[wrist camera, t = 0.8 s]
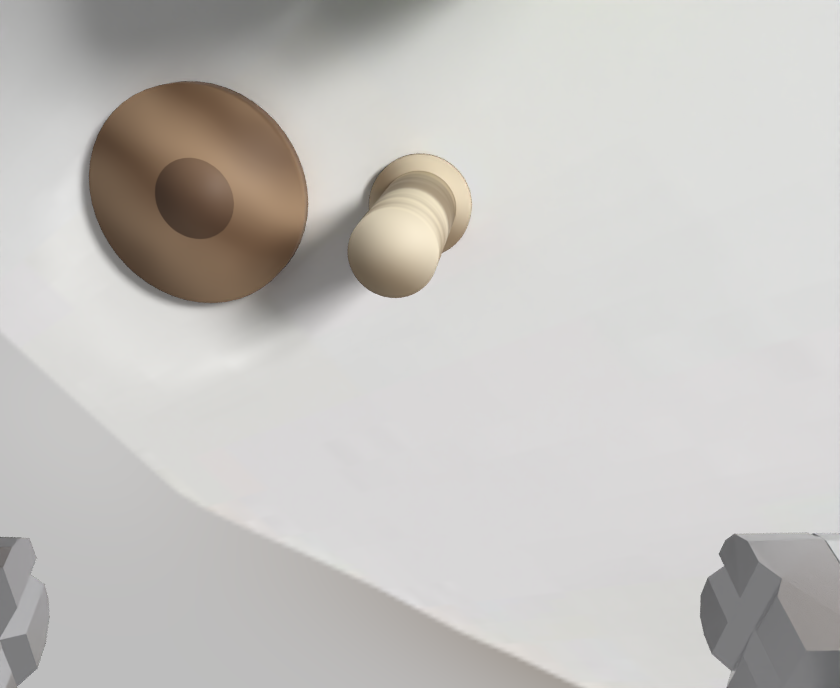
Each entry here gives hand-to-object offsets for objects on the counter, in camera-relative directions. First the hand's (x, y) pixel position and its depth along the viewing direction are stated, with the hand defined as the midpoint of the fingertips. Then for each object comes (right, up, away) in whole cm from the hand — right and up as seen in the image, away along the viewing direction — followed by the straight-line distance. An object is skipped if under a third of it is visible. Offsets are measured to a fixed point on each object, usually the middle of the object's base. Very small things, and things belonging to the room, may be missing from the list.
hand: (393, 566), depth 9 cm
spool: (0, +11, +40) cm, 42 cm away
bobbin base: (-14, +12, +42) cm, 46 cm away
